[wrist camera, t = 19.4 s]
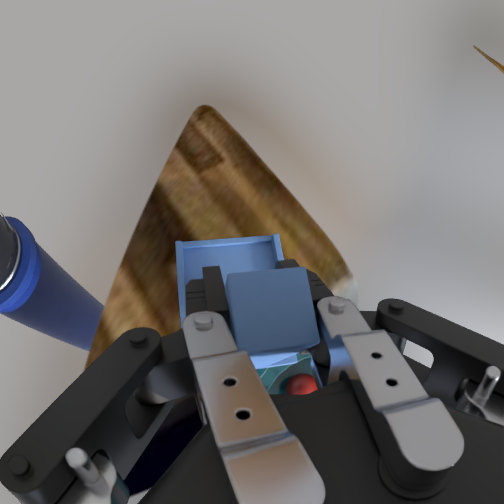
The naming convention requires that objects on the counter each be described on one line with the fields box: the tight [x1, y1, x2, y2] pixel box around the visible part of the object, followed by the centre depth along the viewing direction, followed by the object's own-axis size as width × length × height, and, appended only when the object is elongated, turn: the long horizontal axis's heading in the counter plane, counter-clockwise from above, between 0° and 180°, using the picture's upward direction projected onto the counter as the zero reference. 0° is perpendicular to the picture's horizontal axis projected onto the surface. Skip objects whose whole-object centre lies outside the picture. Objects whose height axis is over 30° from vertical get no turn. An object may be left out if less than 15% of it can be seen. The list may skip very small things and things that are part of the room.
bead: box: [285, 373, 318, 395], centre depth 28 cm, size 3×3×3 cm
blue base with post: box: [175, 234, 320, 369], centre depth 15 cm, size 8×7×11 cm
